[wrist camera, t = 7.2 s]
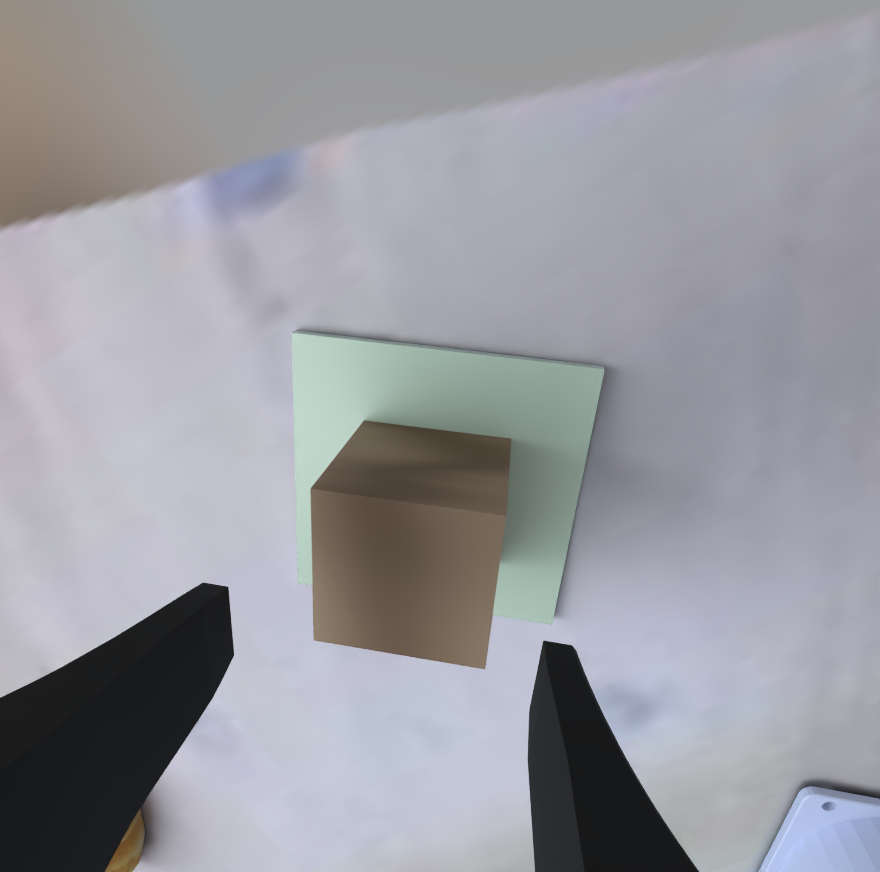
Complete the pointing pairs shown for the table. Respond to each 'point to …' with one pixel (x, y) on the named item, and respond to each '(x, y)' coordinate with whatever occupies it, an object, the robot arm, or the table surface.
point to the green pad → (460, 410)
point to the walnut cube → (410, 542)
